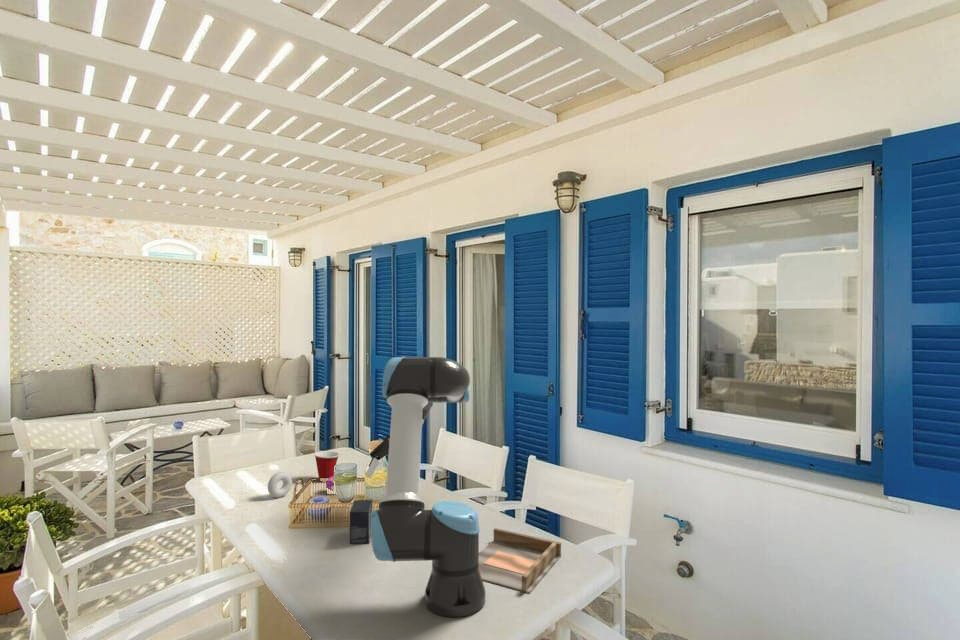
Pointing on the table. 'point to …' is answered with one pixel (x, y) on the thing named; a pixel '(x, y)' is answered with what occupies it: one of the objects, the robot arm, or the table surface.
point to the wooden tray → (517, 560)
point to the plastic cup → (326, 463)
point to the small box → (360, 522)
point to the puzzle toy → (330, 484)
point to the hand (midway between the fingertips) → (383, 479)
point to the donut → (275, 479)
